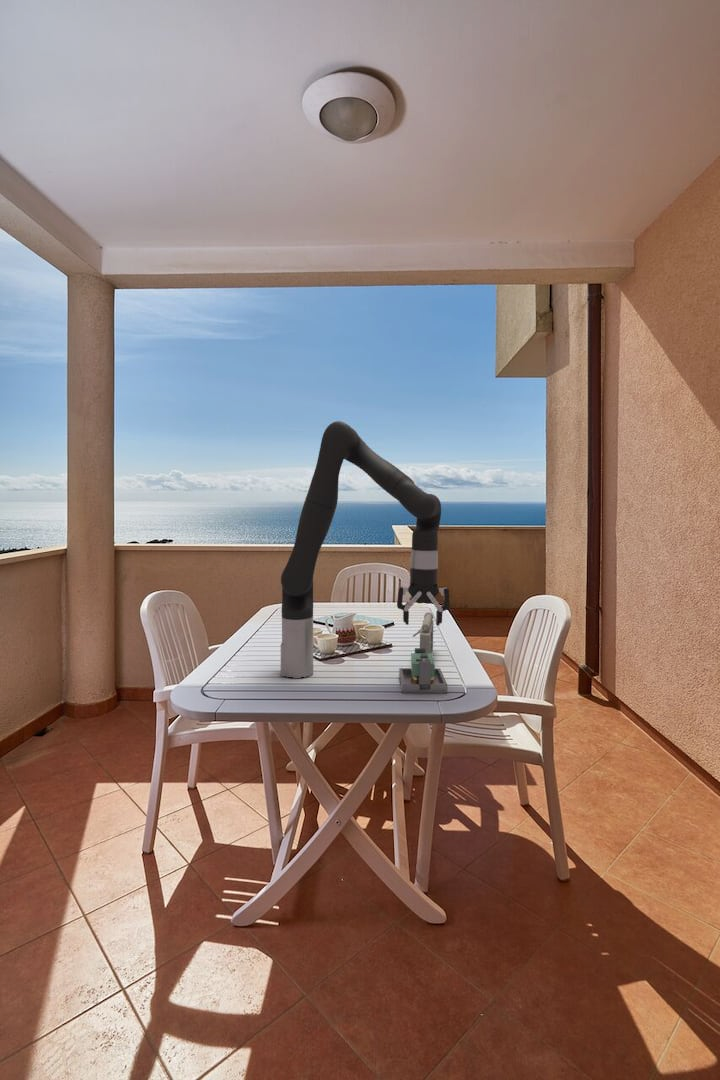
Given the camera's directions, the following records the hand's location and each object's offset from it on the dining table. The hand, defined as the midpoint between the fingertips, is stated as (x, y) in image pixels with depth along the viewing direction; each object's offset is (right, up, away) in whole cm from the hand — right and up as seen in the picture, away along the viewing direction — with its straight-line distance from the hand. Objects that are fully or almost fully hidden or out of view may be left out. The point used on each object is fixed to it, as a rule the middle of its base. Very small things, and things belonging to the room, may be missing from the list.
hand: (422, 624), depth 139 cm
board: (0, -13, +1) cm, 13 cm away
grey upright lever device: (+4, -16, +27) cm, 31 cm away
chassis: (0, -17, +2) cm, 17 cm away
